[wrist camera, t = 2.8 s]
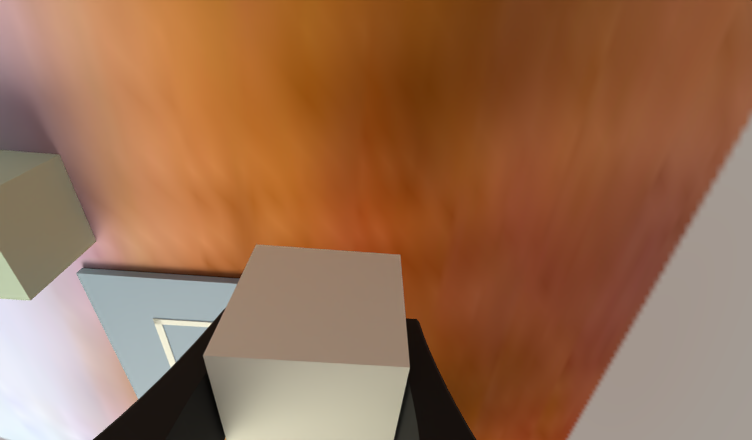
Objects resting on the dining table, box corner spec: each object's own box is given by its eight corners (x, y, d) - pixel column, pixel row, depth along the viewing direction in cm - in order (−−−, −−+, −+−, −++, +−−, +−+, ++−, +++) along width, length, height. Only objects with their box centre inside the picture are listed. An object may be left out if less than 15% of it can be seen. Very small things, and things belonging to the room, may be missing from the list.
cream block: (385, 346, 14) (388, 463, 10) (267, 339, 13) (230, 456, 10) (400, 254, 11) (410, 367, 8) (256, 244, 11) (202, 355, 8)
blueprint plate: (318, 409, 25) (318, 415, 25) (145, 400, 25) (141, 406, 24) (318, 283, 19) (317, 290, 18) (82, 268, 18) (75, 274, 18)
